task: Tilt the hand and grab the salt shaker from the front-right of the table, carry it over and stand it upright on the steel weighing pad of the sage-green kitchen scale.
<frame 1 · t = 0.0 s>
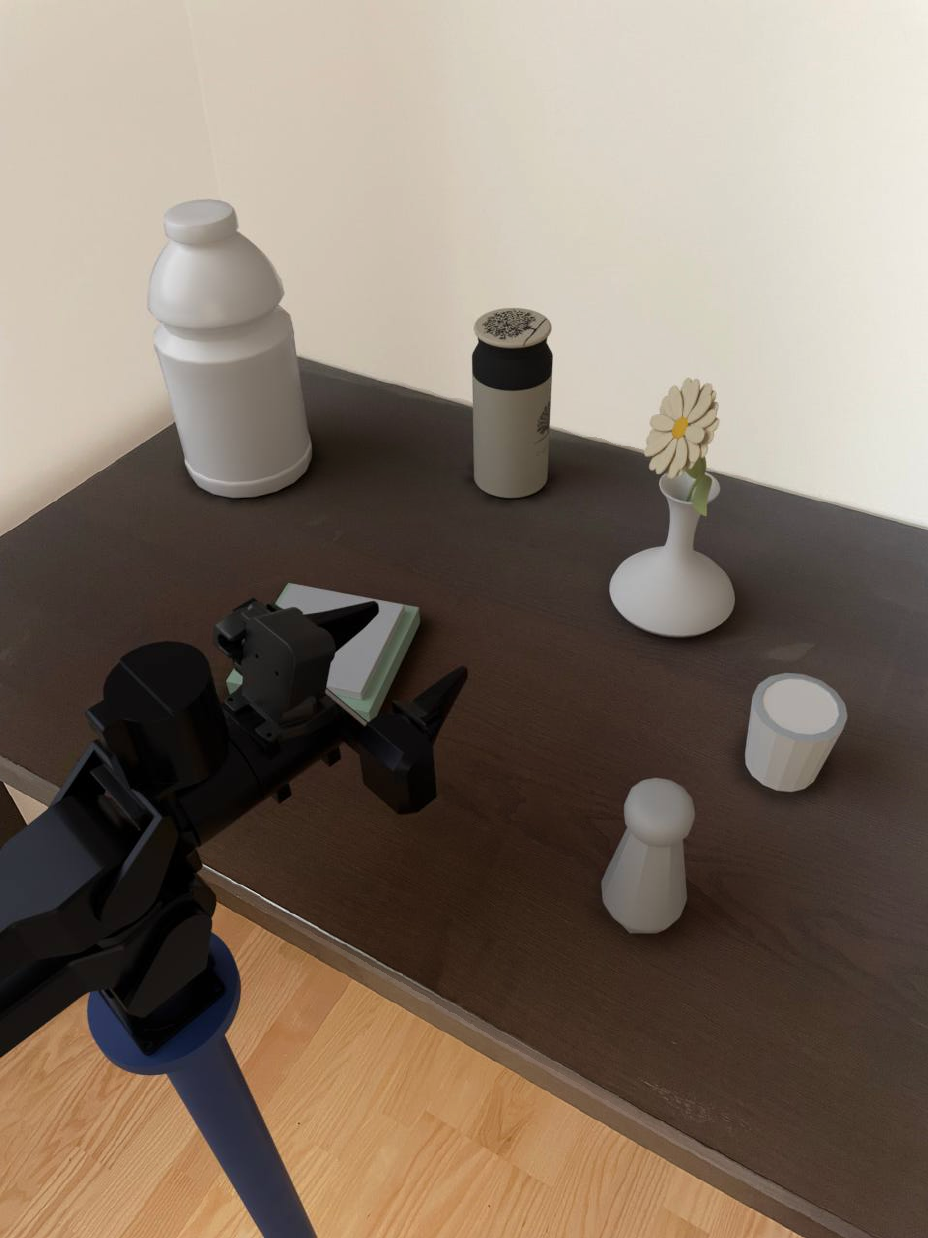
hand: (420, 637, 68), 14 cm above the table, tool horizontal, fingers open, 9 cm apart
flower in vase: (668, 612, 90), on the table
bottle: (251, 464, 109), on the table
travel mug: (510, 480, 106), on the table
salt shaker: (639, 910, 69), on the table
shot glass: (780, 764, 77), on the table
scale: (328, 658, 87), on the table
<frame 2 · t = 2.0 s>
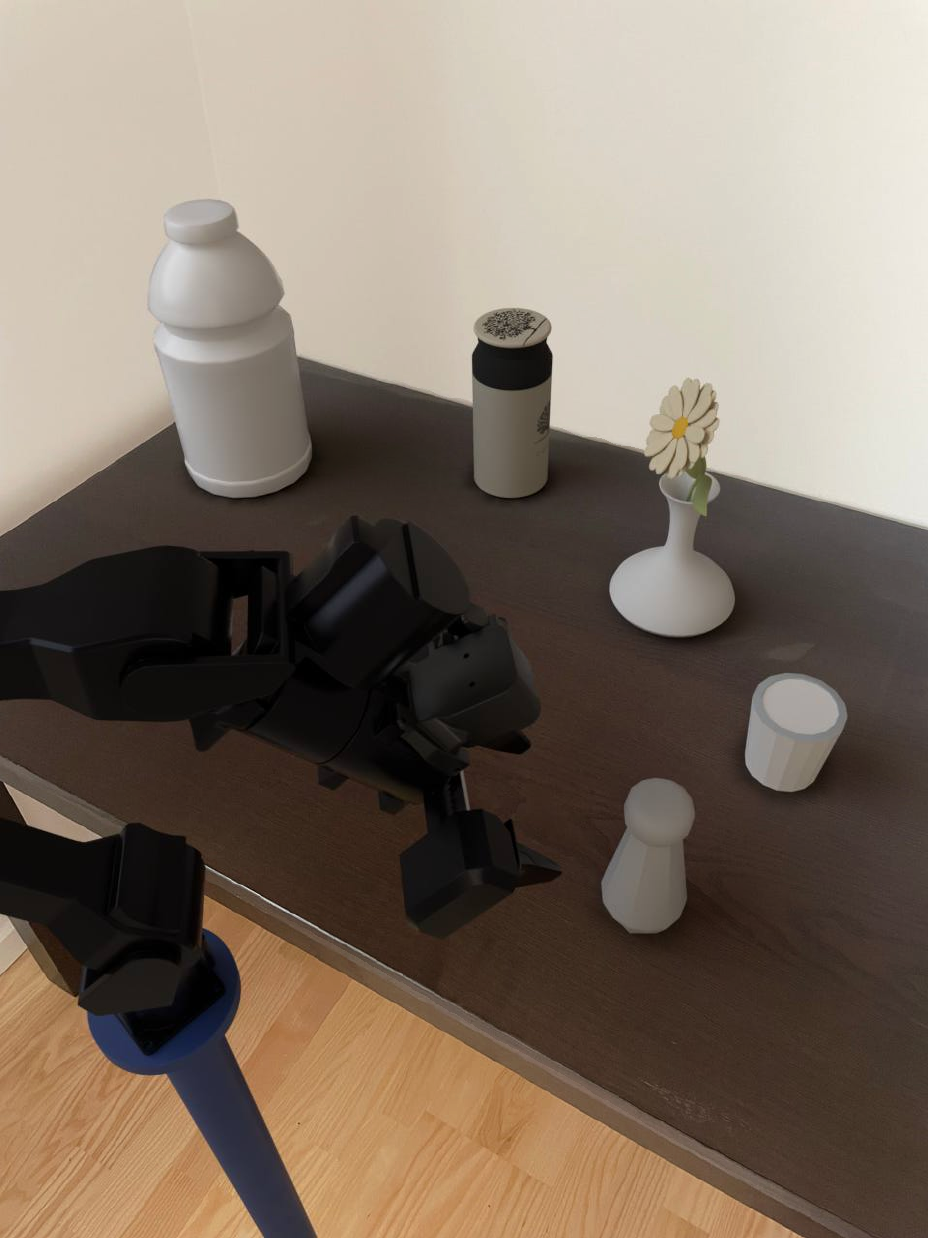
hand: (540, 808, 58), 14 cm above the table, tool tilted 45°, fingers open, 9 cm apart
nothing on the table moved.
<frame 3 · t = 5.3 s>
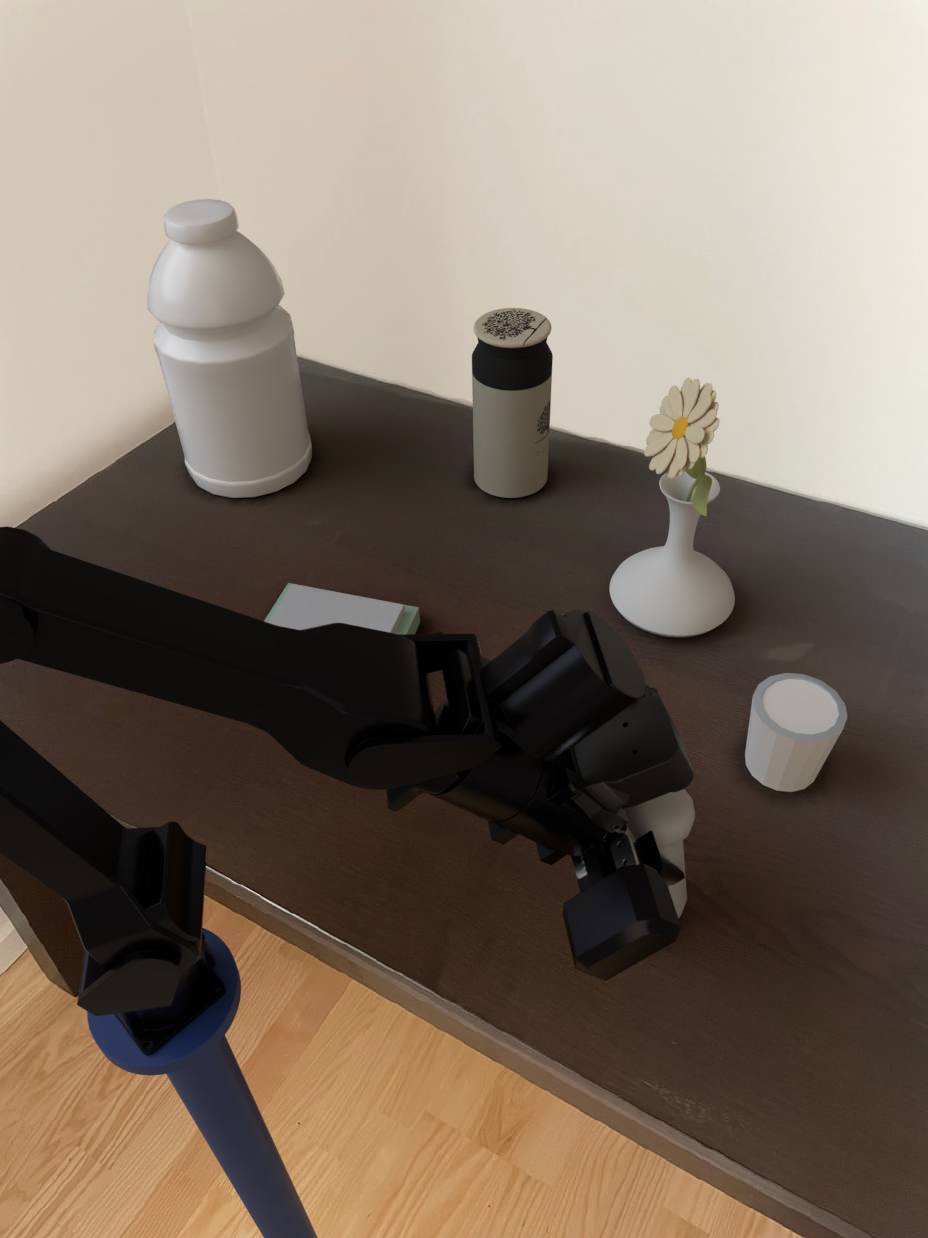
hand: (670, 855, 64), 7 cm above the table, tool tilted 45°, fingers closed on salt shaker, 3 cm apart
salt shaker: (639, 910, 69), on the table, touching gripper
everything else where it was.
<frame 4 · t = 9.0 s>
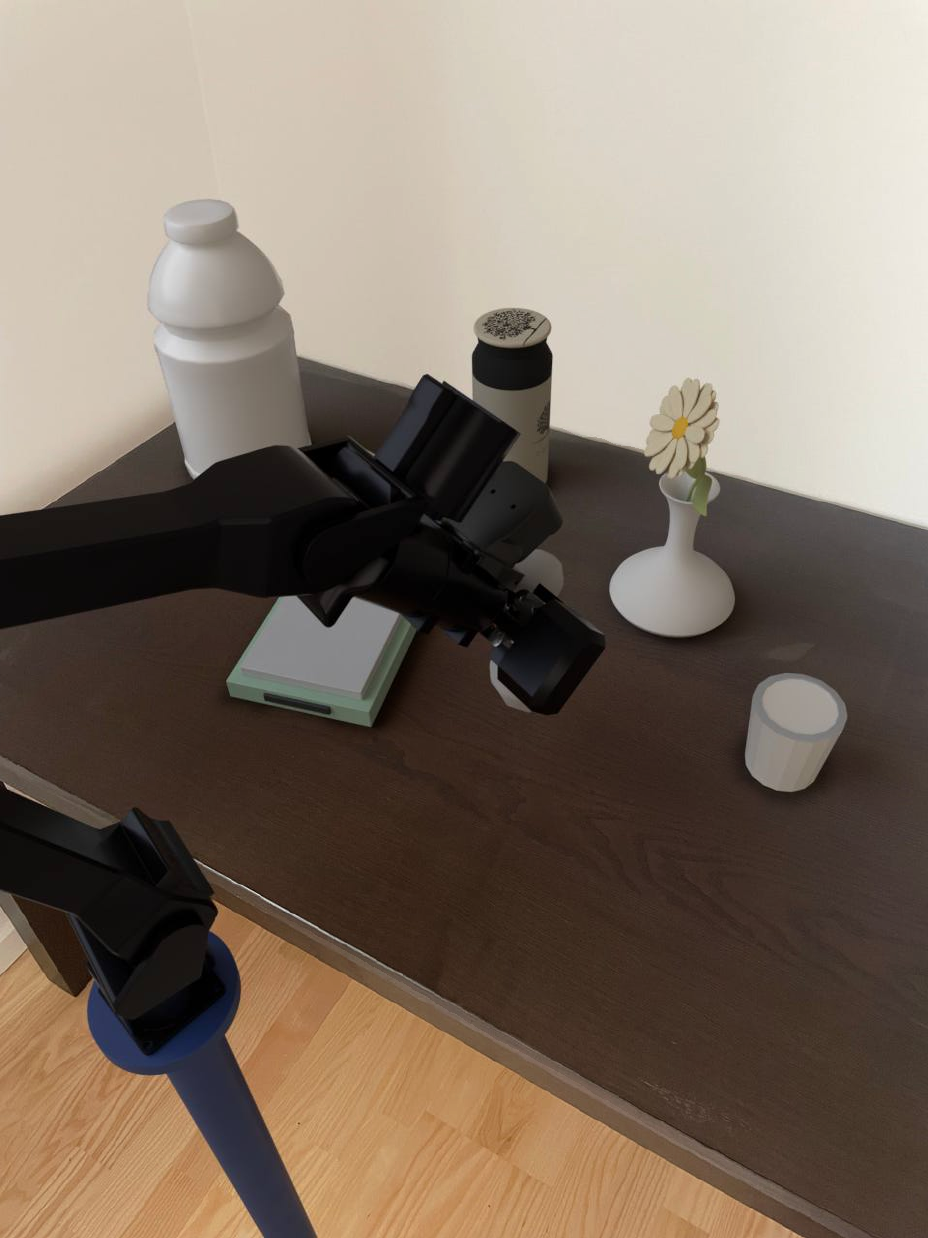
hand: (544, 622, 70), 13 cm above the table, tool tilted 45°, fingers closed on salt shaker, 3 cm apart
salt shaker: (526, 694, 75), point 7 cm above the table, touching gripper
everything else where it was.
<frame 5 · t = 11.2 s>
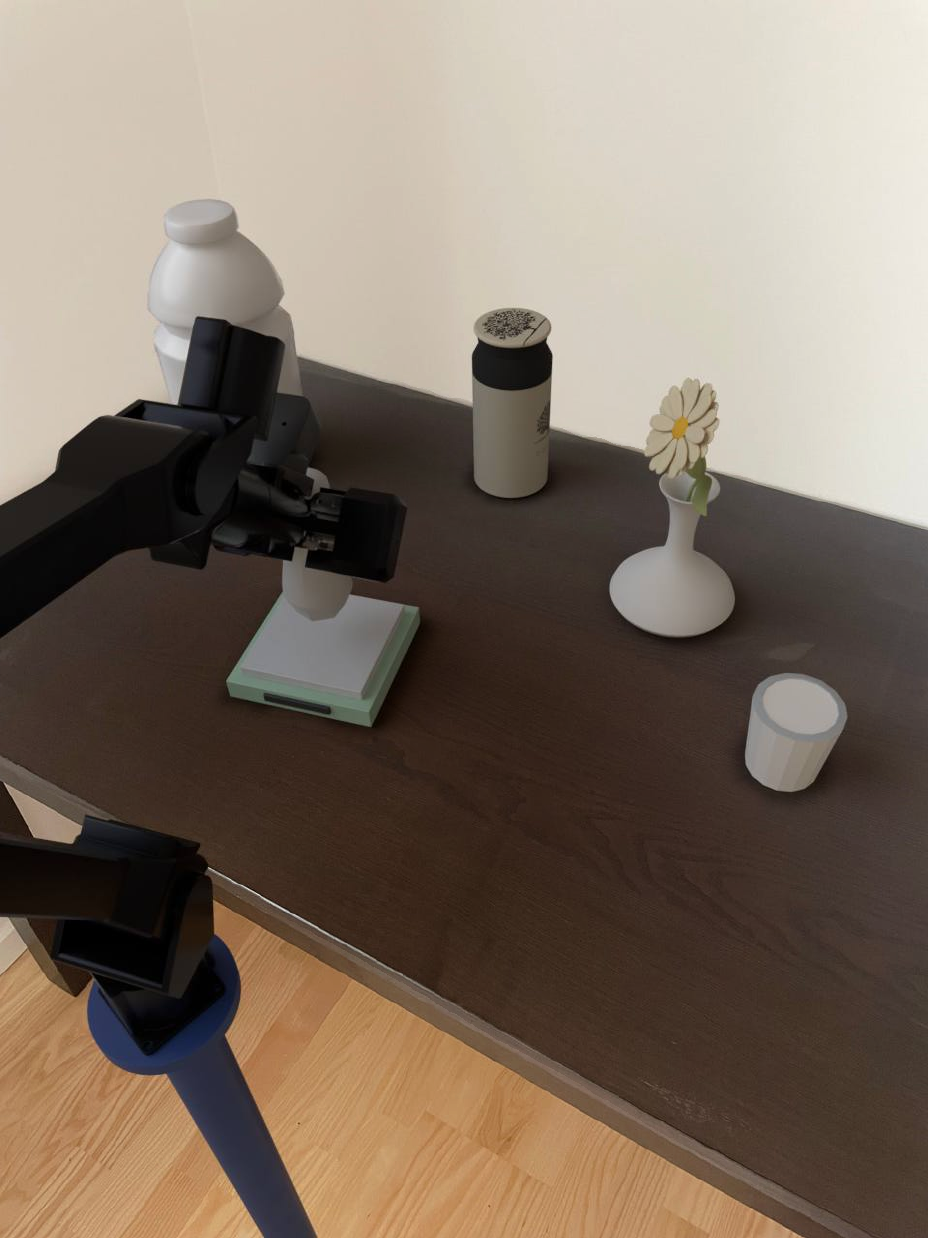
hand: (317, 534, 78), 13 cm above the table, tool tilted 45°, fingers closed on salt shaker, 3 cm apart
salt shaker: (321, 606, 82), point 7 cm above the table, touching gripper
everything else where it was.
when the fingers open (10 cm above the table, at t = 12.8 s): salt shaker stays where it is, resting on scale.
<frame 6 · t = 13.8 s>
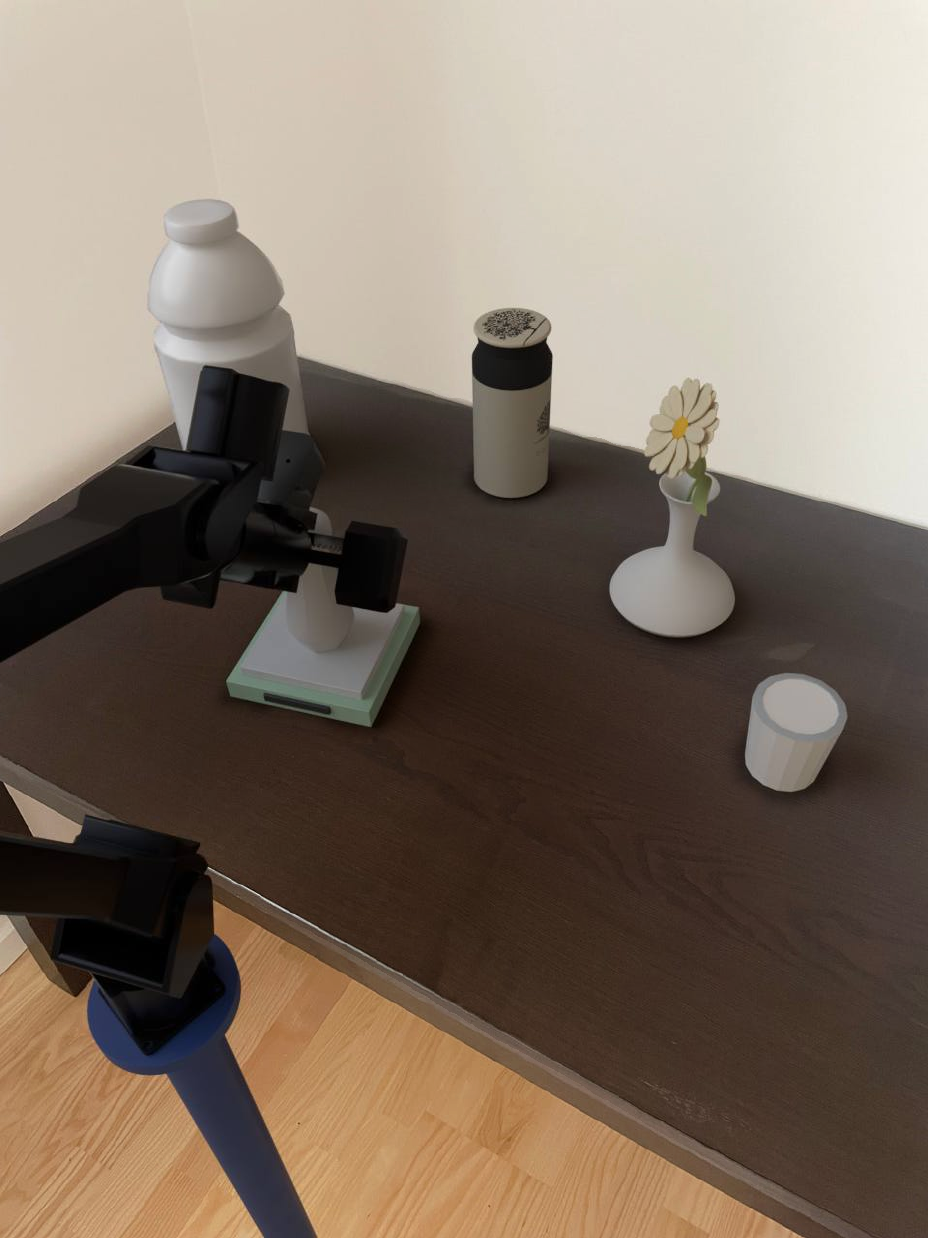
hand: (320, 561, 81), 10 cm above the table, tool tilted 45°, fingers open, 9 cm apart
salt shaker: (323, 637, 85), point 3 cm above the table, touching scale
everything else where it was.
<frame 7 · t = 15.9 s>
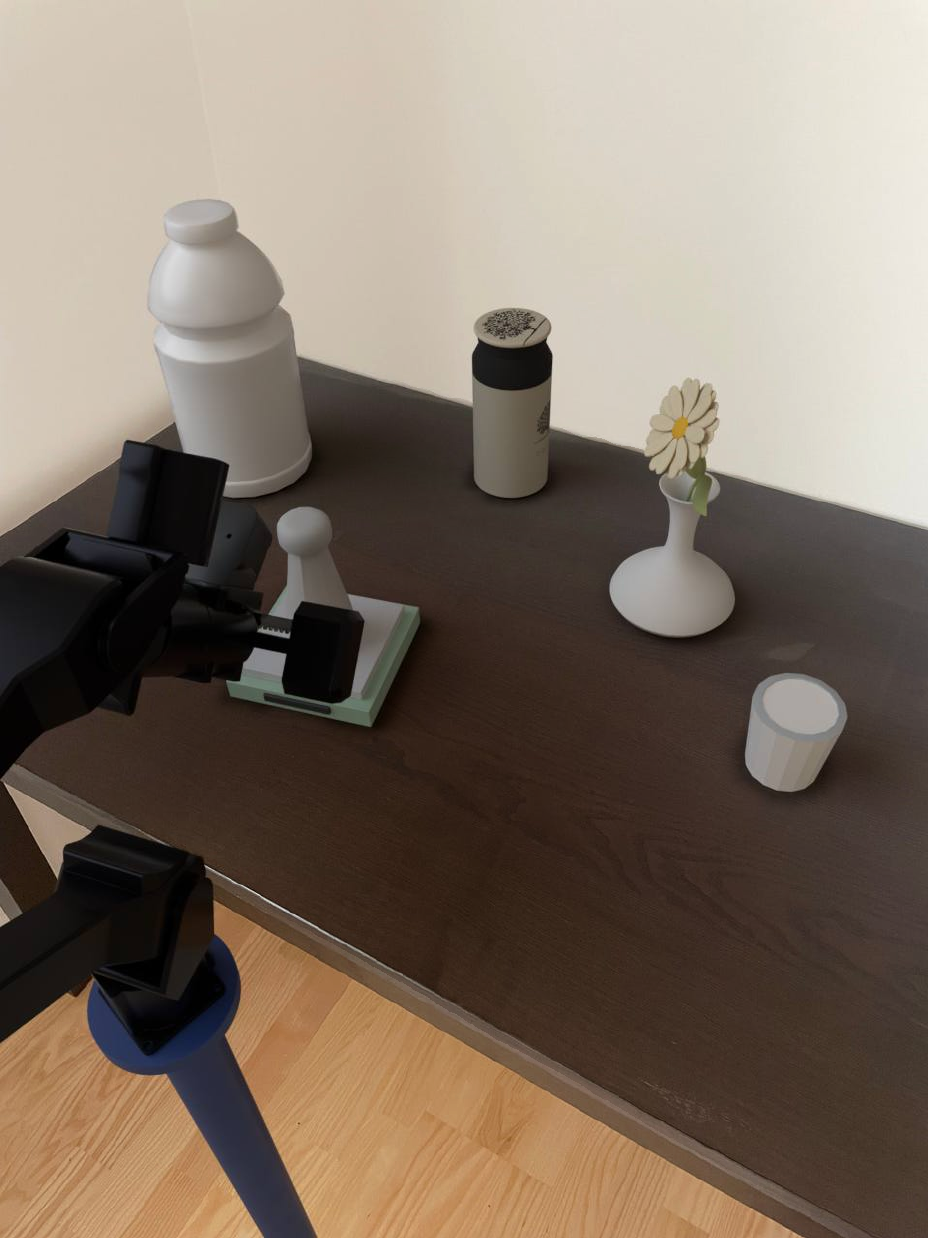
hand: (273, 635, 73), 11 cm above the table, tool tilted 45°, fingers open, 9 cm apart
nothing on the table moved.
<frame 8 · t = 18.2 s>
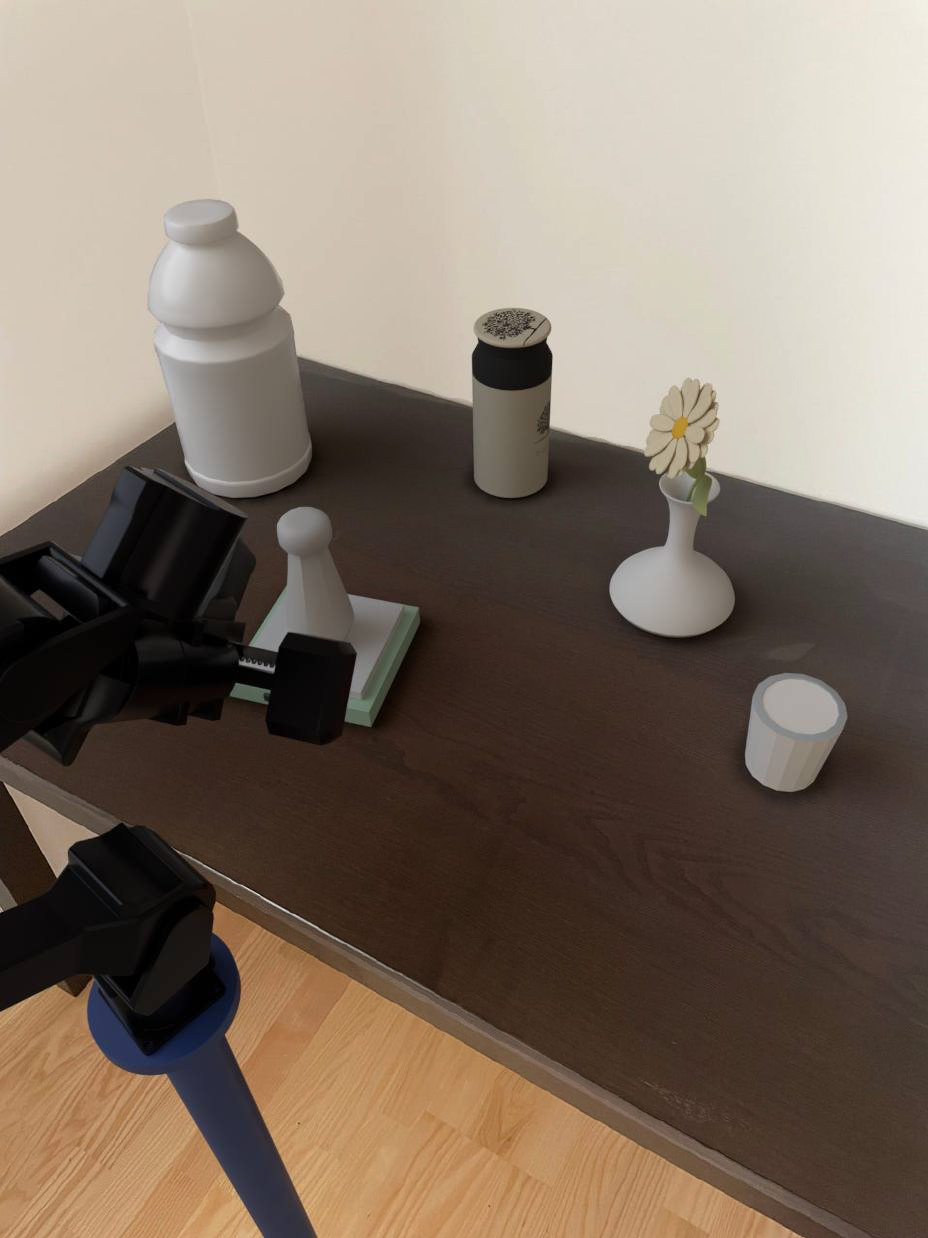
hand: (259, 663, 68), 14 cm above the table, tool tilted 45°, fingers open, 9 cm apart
nothing on the table moved.
at the end: salt shaker inside the target area on the scale (0.2 cm from its centre), point 2.8 cm above the scale's base; salt shaker tilted 0°; the gripper is holding nothing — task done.
